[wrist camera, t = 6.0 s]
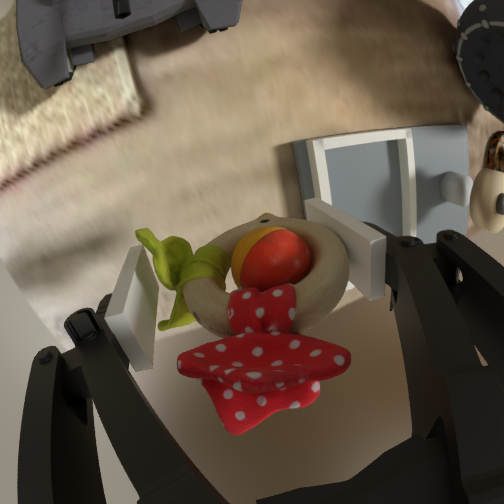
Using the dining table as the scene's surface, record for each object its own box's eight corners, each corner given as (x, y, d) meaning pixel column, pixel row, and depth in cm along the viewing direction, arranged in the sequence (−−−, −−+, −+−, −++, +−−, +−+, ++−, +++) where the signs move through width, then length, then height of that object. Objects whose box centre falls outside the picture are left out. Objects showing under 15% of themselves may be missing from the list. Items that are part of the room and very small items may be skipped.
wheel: (469, 171, 24) (491, 177, 21) (498, 165, 25) (517, 170, 22) (467, 232, 27) (487, 241, 24) (495, 219, 28) (513, 227, 25)
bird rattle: (235, 167, 17) (95, 249, 13) (421, 163, 8) (166, 377, 4) (270, 255, 20) (156, 339, 16) (430, 307, 11) (278, 481, 7)
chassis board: (291, 141, 26) (309, 142, 23) (461, 124, 30) (482, 126, 26) (313, 287, 33) (329, 305, 29) (462, 231, 36) (480, 240, 33)
